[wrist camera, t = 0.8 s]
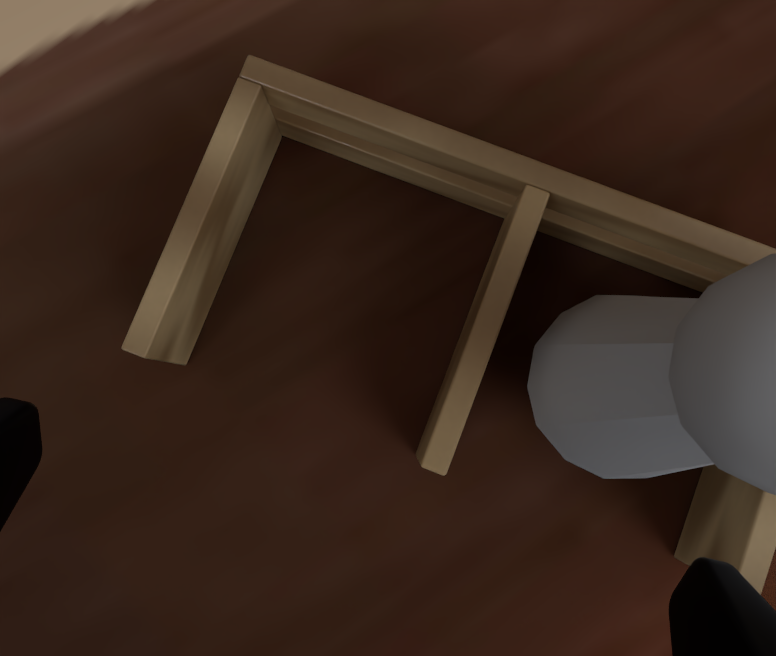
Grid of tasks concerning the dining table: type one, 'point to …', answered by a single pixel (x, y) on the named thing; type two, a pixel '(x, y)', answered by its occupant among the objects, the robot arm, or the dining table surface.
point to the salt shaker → (664, 381)
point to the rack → (521, 222)
